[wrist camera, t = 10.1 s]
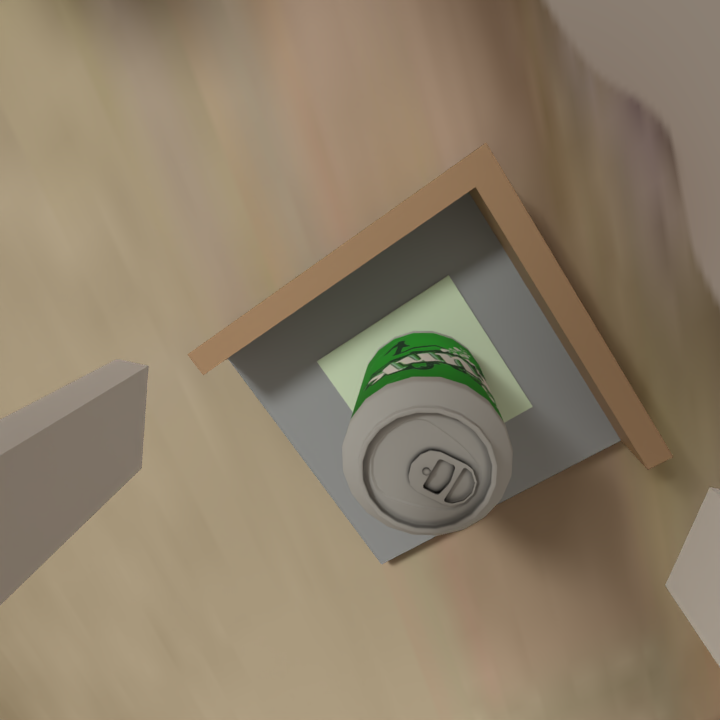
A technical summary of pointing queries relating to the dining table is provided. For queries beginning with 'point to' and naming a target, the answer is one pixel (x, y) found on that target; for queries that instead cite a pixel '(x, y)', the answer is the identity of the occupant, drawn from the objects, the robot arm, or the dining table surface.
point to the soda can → (426, 437)
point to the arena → (490, 307)
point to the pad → (426, 313)
